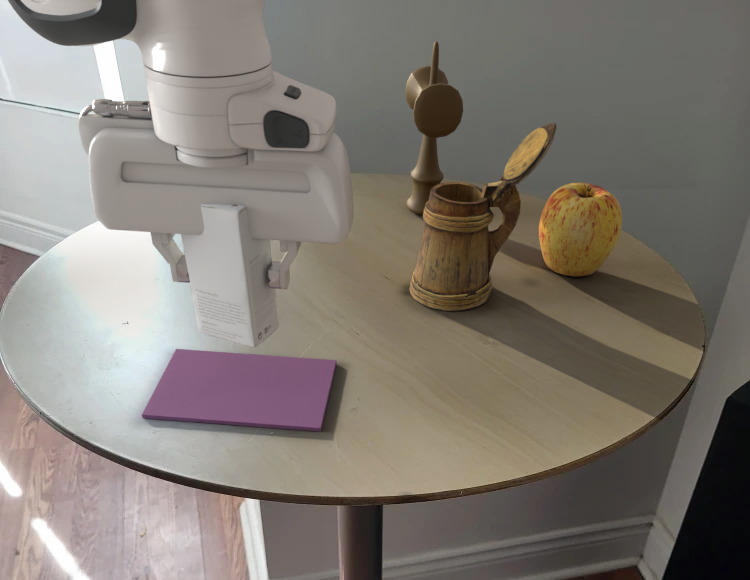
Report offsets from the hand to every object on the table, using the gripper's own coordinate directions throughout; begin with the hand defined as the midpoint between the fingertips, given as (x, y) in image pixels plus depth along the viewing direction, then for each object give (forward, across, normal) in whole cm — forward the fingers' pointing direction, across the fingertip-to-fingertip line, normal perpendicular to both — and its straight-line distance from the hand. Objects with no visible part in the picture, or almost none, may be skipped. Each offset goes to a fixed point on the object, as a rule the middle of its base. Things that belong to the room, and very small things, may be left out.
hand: (232, 282), depth 65 cm
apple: (+11, +33, +29) cm, 45 cm away
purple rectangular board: (+11, 0, 0) cm, 11 cm away
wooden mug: (+11, +21, +22) cm, 32 cm away
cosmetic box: (+5, 0, 0) cm, 5 cm away
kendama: (+11, +15, +44) cm, 48 cm away
